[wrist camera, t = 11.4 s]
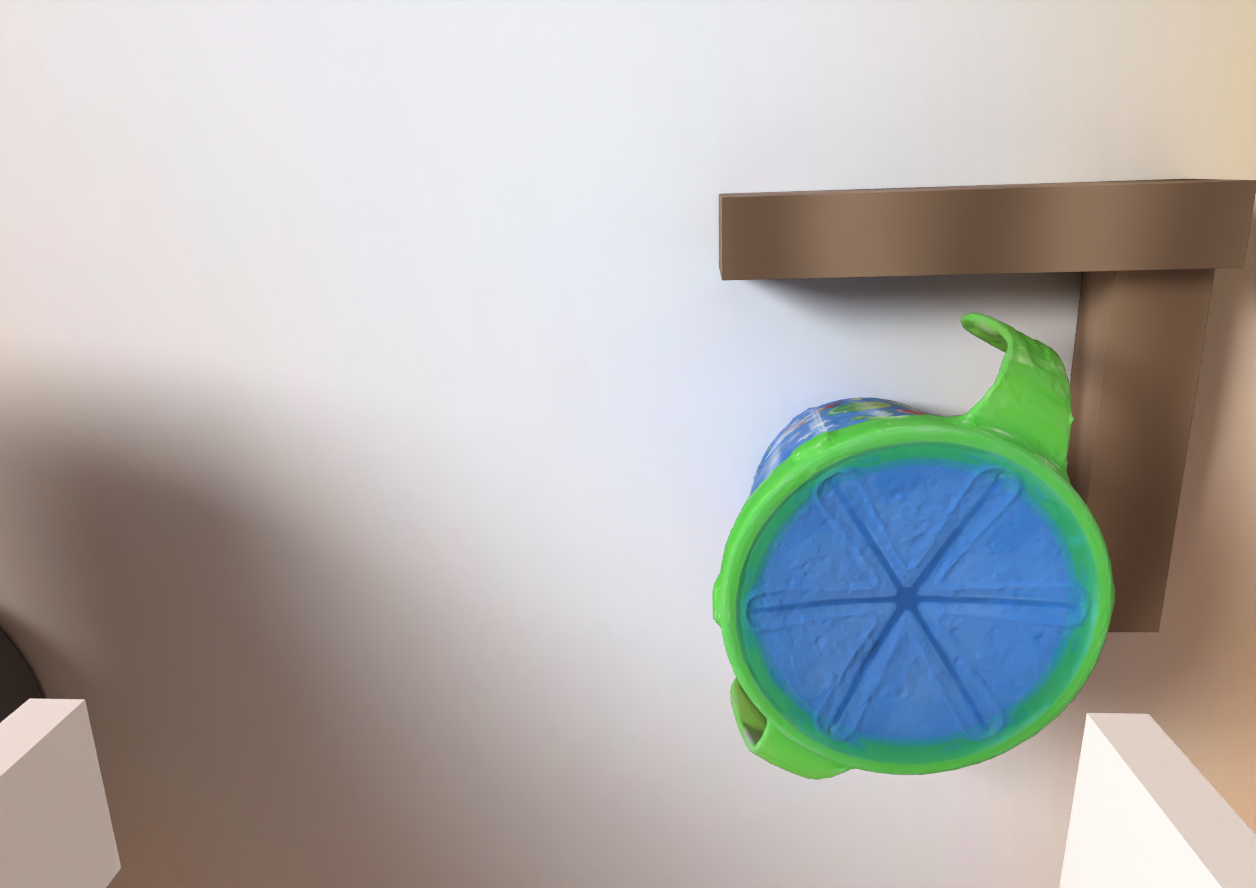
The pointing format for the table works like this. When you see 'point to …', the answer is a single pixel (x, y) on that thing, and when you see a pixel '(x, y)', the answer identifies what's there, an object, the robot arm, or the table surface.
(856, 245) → the bracket
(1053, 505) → the snack cup
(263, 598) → the table surface
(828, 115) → the table surface
